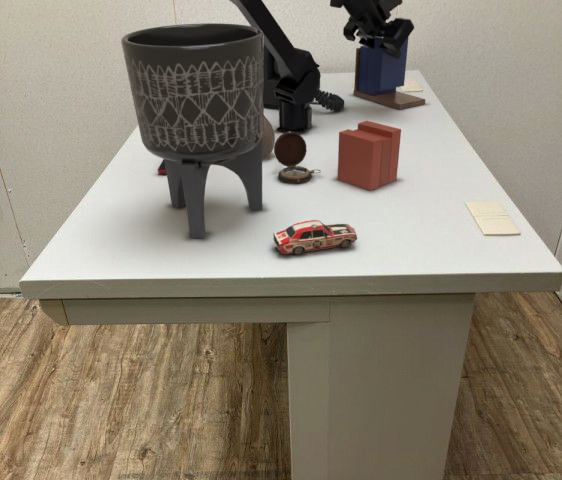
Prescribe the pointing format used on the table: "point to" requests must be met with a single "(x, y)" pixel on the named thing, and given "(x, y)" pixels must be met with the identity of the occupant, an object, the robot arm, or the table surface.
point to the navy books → (368, 73)
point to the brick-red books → (369, 155)
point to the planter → (200, 106)
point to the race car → (313, 237)
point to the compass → (292, 157)
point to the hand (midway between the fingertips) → (394, 55)
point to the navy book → (388, 67)
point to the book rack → (388, 99)
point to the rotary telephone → (273, 77)
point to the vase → (267, 138)
